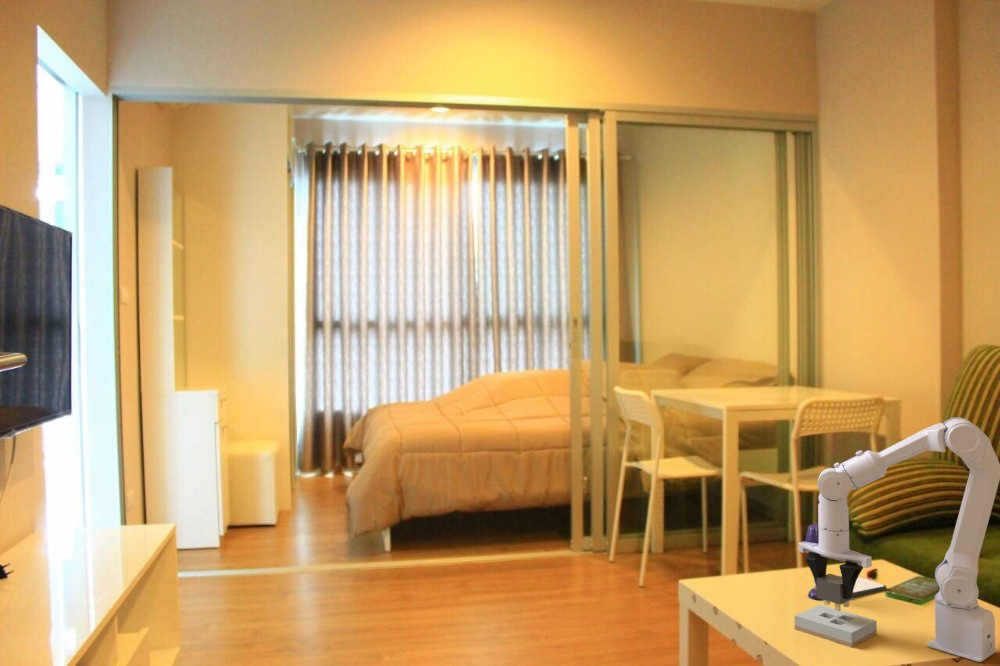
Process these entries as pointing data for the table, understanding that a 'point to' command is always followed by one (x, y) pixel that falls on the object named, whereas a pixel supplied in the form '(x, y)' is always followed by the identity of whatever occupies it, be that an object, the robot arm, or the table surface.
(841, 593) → the plug
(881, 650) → the table surface
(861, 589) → the phone case
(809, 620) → the socket
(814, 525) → the toy lamp
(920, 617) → the table surface
